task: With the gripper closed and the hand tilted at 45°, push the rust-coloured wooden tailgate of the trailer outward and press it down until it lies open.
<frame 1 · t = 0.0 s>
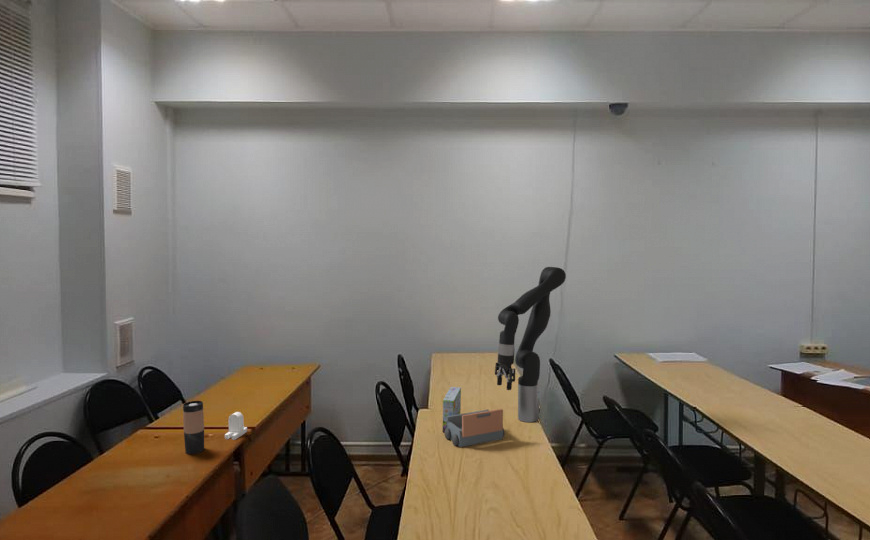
hand: (504, 387, 242), 17 cm above the table, tool pointing down, fingers open, 8 cm apart
snack box: (452, 424, 242), on the table
travel mug: (194, 451, 214), on the table
cable organizer: (236, 435, 231), on the table
trailer: (474, 437, 226), on the table
tailgate: (483, 423, 218), point 9 cm above the table, hinge at 0.0°
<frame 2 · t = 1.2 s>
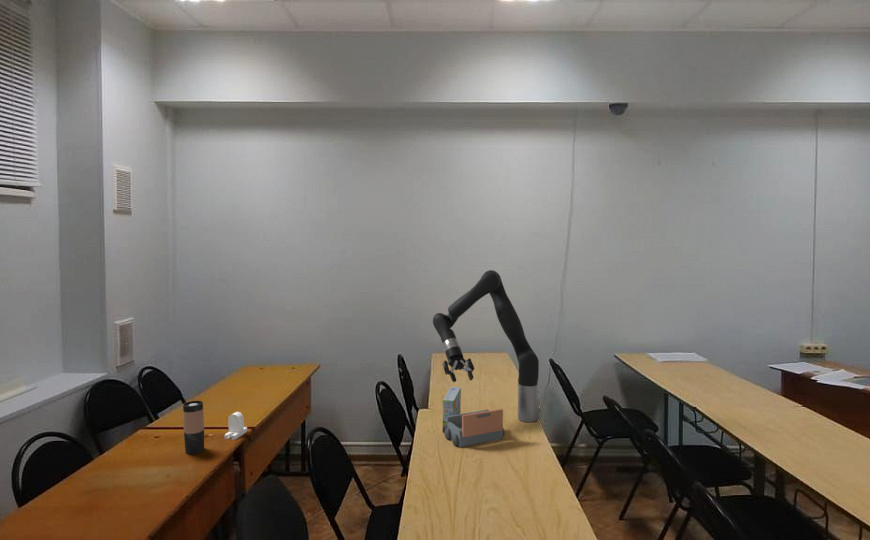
hand: (463, 380, 234), 23 cm above the table, tool tilted 45°, fingers open, 8 cm apart
nothing on the table moved.
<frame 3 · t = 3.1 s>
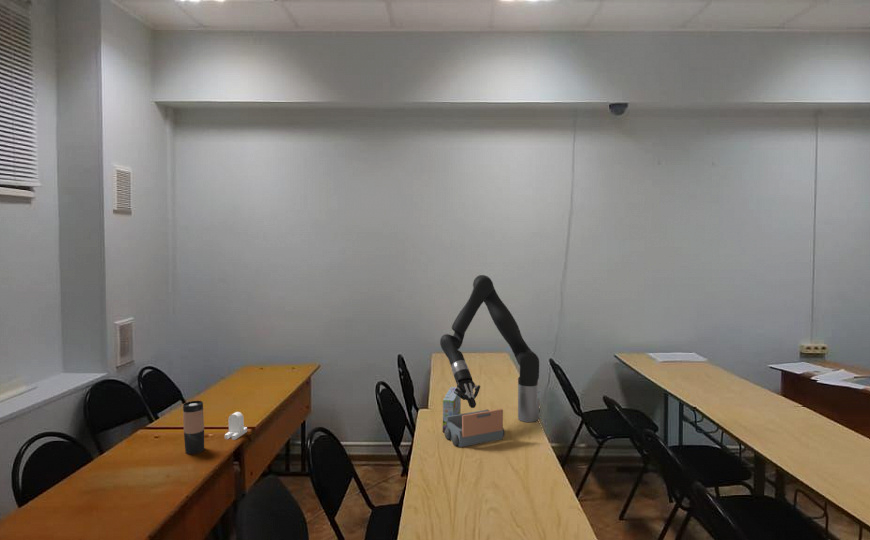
hand: (473, 407, 225), 14 cm above the table, tool tilted 45°, fingers closed
nothing on the table moved.
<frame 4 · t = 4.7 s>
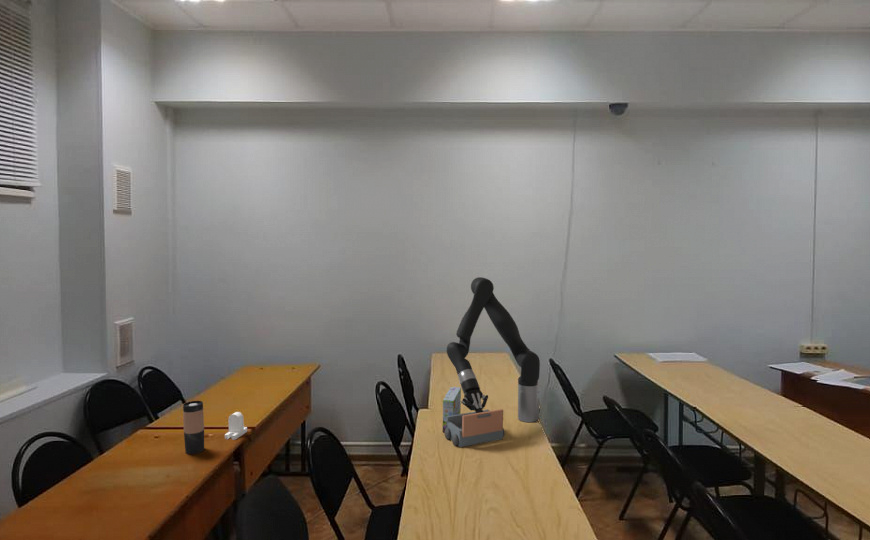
hand: (481, 417, 219), 11 cm above the table, tool tilted 45°, fingers closed
tailgate: (483, 423, 218), point 9 cm above the table, hinge at 2.5°, touching gripper
everything else where it was.
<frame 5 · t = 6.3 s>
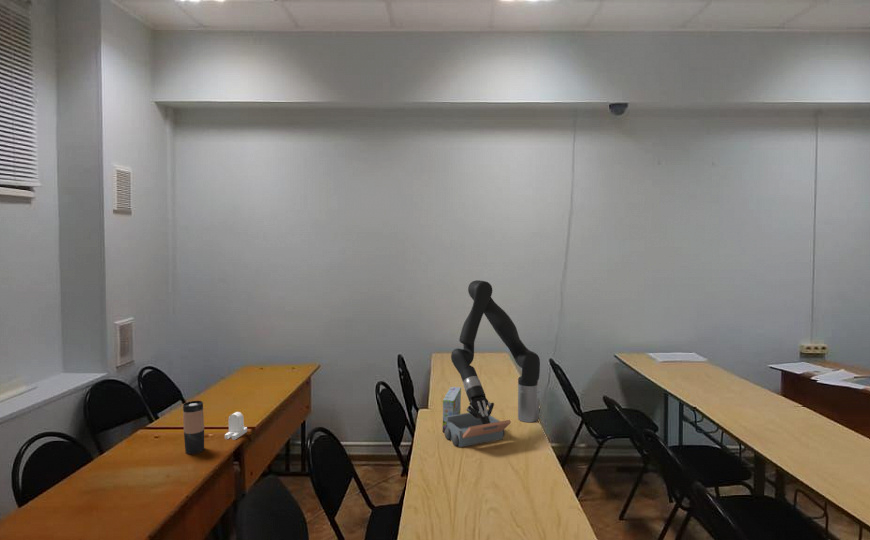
hand: (487, 426, 215), 9 cm above the table, tool tilted 45°, fingers closed
tailgate: (486, 429, 215), point 7 cm above the table, hinge at 48.2°, touching gripper
everything else where it was.
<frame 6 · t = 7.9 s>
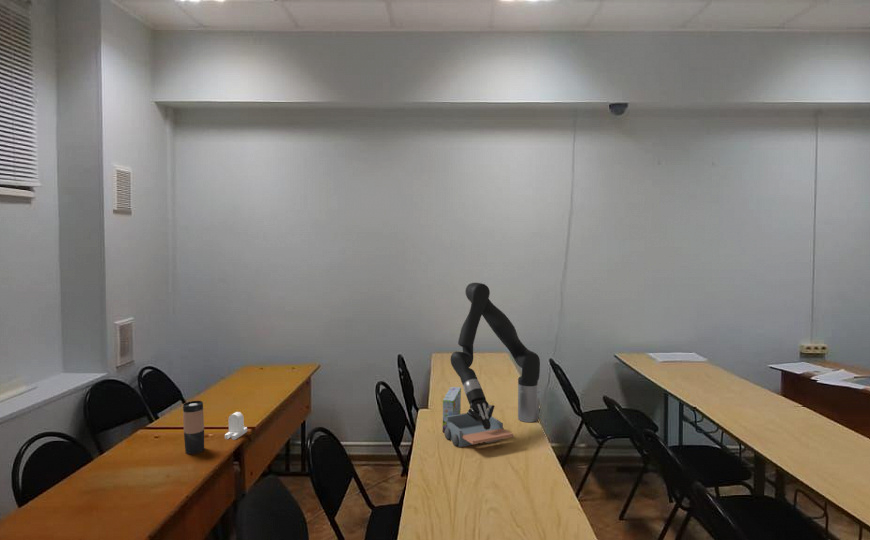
hand: (488, 428, 215), 8 cm above the table, tool tilted 45°, fingers closed
tailgate: (488, 436, 215), point 5 cm above the table, hinge at 85.1°
everything else where it was.
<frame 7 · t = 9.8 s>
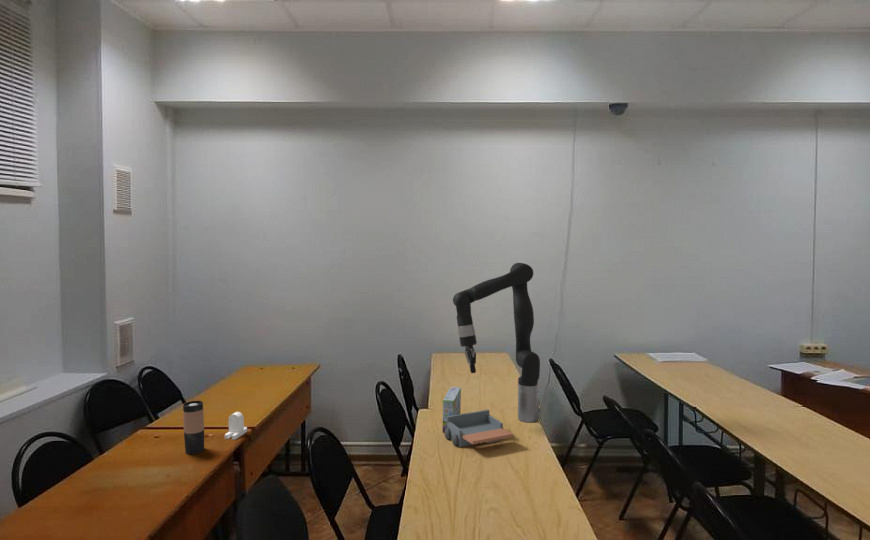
hand: (473, 372, 236), 26 cm above the table, tool pointing down, fingers closed
nothing on the table moved.
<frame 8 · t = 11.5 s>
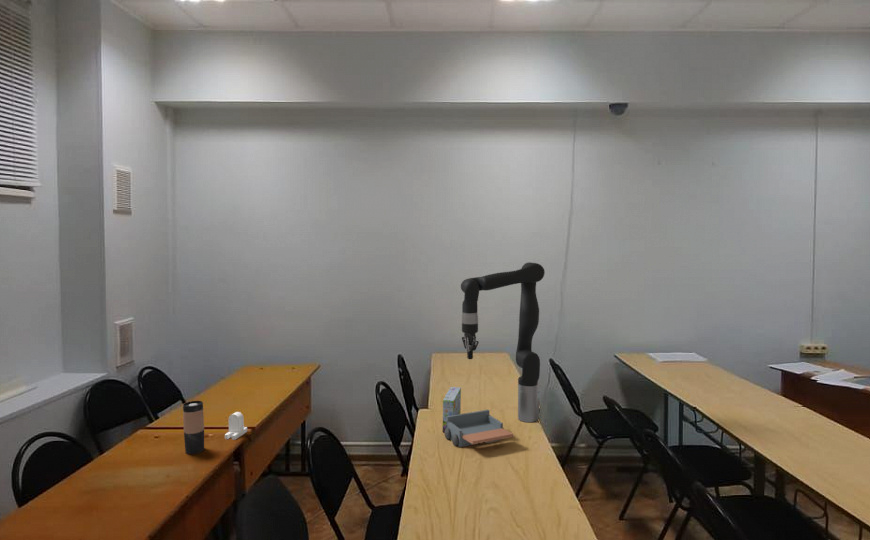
hand: (470, 358, 240), 31 cm above the table, tool pointing down, fingers closed
nothing on the table moved.
at the end: tailgate at +85° (first picture: +0°); snack box moved 0.3 cm from its start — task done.
